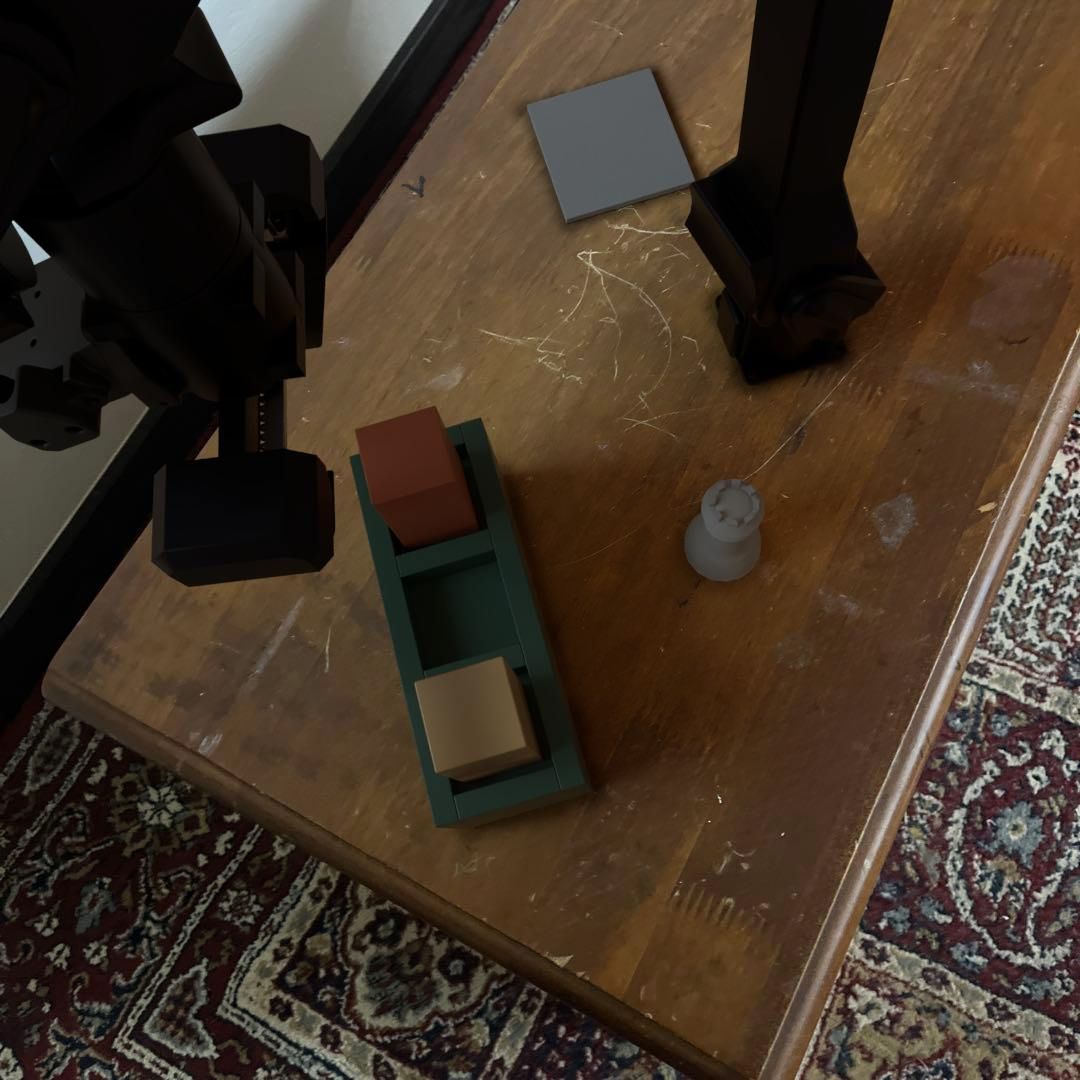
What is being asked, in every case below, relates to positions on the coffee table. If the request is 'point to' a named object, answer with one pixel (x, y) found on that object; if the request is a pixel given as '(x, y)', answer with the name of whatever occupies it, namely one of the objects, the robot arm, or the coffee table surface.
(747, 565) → the rook chess piece
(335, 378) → the coffee table surface
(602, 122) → the mat
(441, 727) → the maple peg
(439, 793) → the rack
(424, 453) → the terracotta peg
